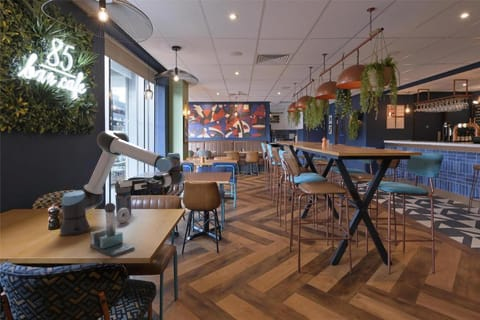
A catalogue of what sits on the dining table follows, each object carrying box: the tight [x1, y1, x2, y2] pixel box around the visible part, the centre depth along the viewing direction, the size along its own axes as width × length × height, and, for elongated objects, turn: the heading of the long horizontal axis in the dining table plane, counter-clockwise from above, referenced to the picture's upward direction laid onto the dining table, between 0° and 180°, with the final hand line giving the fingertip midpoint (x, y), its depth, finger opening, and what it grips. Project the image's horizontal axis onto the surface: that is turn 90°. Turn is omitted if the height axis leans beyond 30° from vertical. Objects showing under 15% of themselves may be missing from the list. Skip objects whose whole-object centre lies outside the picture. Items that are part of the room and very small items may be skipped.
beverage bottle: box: [114, 179, 132, 217], centre depth 195 cm, size 10×13×25 cm
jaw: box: [100, 202, 124, 249], centre depth 133 cm, size 5×10×21 cm, turn 144°
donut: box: [116, 208, 131, 224], centre depth 174 cm, size 10×3×10 cm, turn 160°
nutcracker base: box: [89, 228, 135, 259], centre depth 133 cm, size 22×11×8 cm, turn 54°
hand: (127, 186), depth 139 cm, fingers open, 13 cm apart
